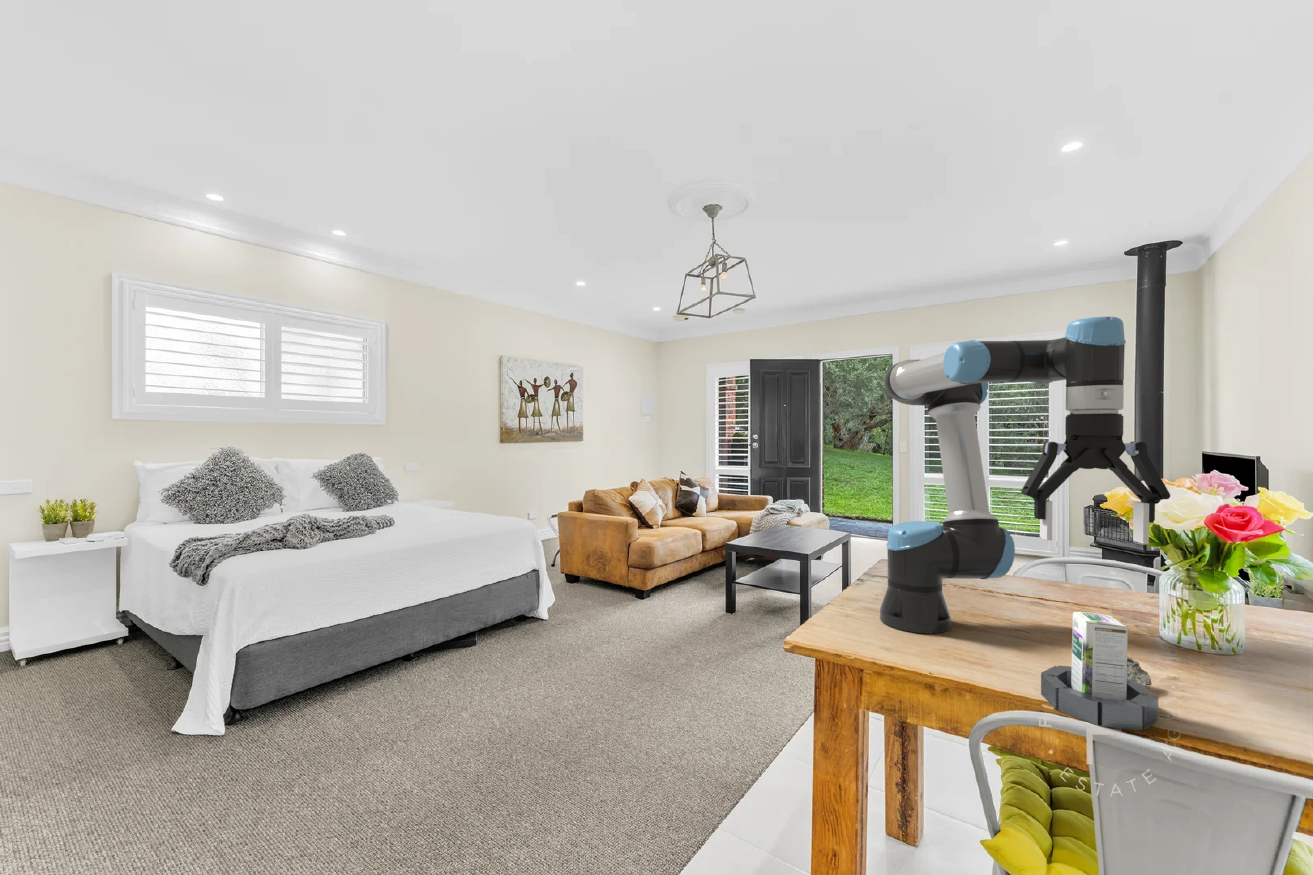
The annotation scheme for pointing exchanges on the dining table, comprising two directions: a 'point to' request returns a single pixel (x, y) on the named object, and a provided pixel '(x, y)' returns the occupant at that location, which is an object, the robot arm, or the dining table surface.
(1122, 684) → the syrup box
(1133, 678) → the rock sample
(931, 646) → the dining table surface
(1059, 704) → the collar
